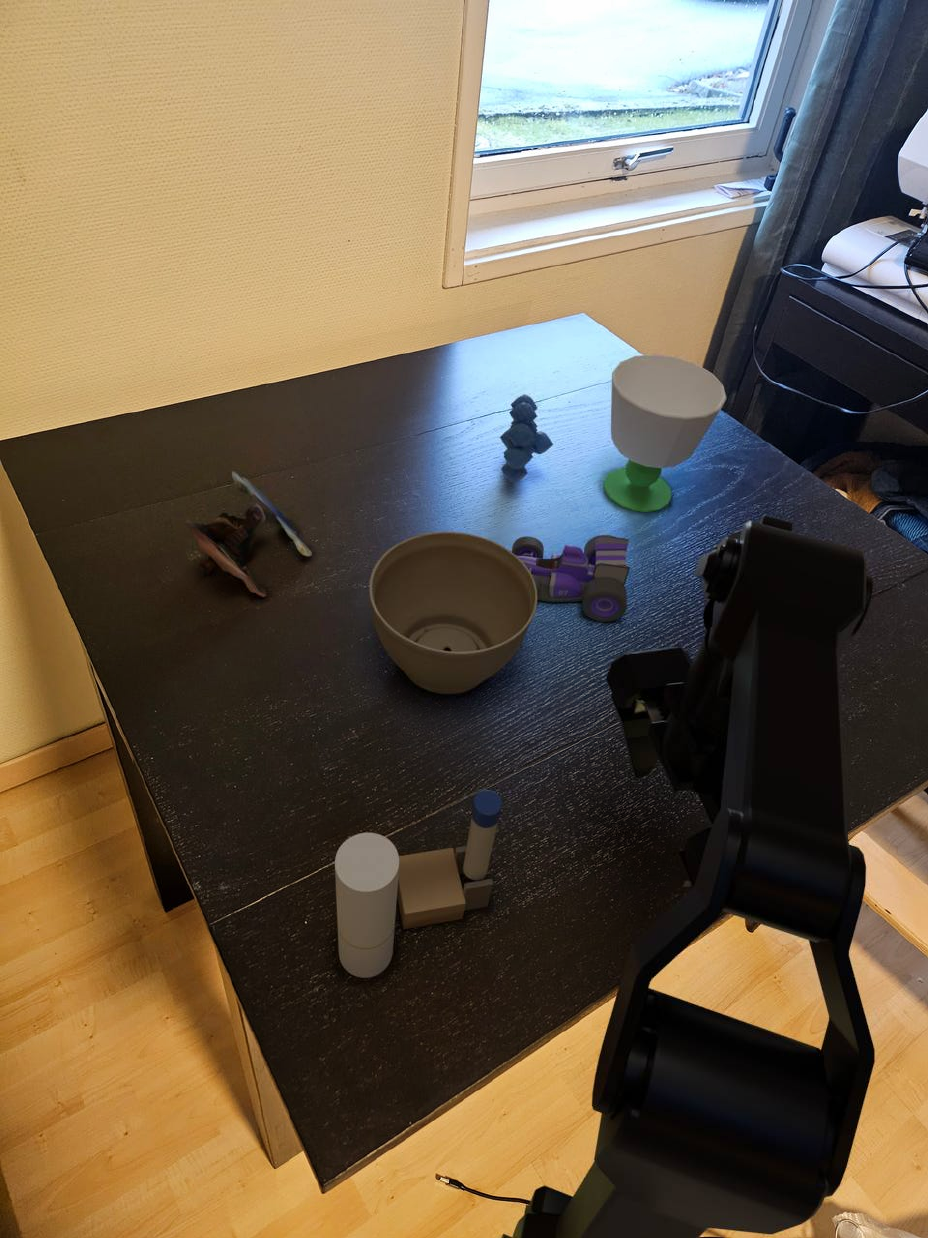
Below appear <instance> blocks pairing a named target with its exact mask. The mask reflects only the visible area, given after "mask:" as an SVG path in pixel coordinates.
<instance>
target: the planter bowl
mask: <svg viewBox="0 0 928 1238" xmlns="http://www.w3.org/2000/svg"><path fill="white" fill-rule="evenodd" d="M368 597H369V598H368V599H369V603H370V607H371V612H372V620H373V623H374V626H375V630H376V634H377V636H378V639H379V641H380V643H381V645H382V647H383V649H384V650H385V652H386V653H387V656H389V657H390V659H391V660H392V662H394V664H395V665H396V666H397V667H398V668H400V670H402V671H403V672H404V674H405V675H406V677H407V678H408V679H409V680H410V681H412V683H414V684H415V685H417V686H418V687H419V688H421V689H424V690H425V691H428V692H431V693H435V694H440V695H455V694H456V695H457V694H461V693H466V692H468V691H471V690H473V689H474V688H476V687H478V686H479V685H480V684H481V683H482V682H484V681H486V680H488V679H489V678H491V677H492V676H494V675H495V674H497V673H498V672H500V670H502V669H503V668H504V667H505V666H506V665H507V664H508V663H509V661H511V660H512V658H513V657H514V656H515V654H516V653H517V652H518V650H519V648H520V647H521V645H522V643H523V642H524V639H525V637H526V636H527V633H528V630H529V628H530V626H531V624H532V622H533V621H534V620H533V619H534V617H535V614H536V611H537V607H538V600H537V589H536V585H535V581H534V579H533V577H532V575H531V573H530V571H529V570H528V568H527V567H526V566H525V564H524V563H523V562H522V561H521V560H520V559H519V558H518V557H517V556H516V555H514V554H513V553H512V550H509V549H508V548H506V547H505V546H503V545H501V544H499V543H498V542H495V541H494V540H492V539H489V538H486V537H483V536H480V535H475V534H470V533H466V532H459V531H433V532H432V531H431V532H426V533H421V534H417V535H415V536H411V537H409V538H406V539H404V540H402V541H400V542H398V543H396V544H395V545H394V546H392V547H391V548H389V549H388V550H387V551H386V552H385V553H384V554H383V555H382V556H381V557H380V558H379V559H378V561H377V562H376V563H375V566H374V567H373V569H372V571H371V574H370V578H369V582H368ZM447 648H448V649H449V650H450V651H449V650H445V649H447Z"/></svg>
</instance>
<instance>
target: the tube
mask: <svg viewBox="0 0 928 1238" xmlns="http://www.w3.org/2000/svg"><path fill="white" fill-rule="evenodd" d="M399 856H400V855H399V852H398V850H397V847H396V846H395V845H394V843H393V842H392V841H391V840H390V839H389V838H387V837H386V836H384V835H381V834H379V833H375V832H360V833H357V834H355V835H352V836H350V837H349V838H347V839H346V840H345V841H343V843H342V844H341V845H340V846H339V848H338V850H337V852H336V855H335V859H334V874H335V899H336V918H337V919H336V920H337V943H338V957H339V958H338V959H339V961H340V963H341V965H342V967H343V968H344V970H345V971H346V972H347V973H349V974H350V975H352V976H354V977H357V978H361V979H365V978H366V979H368V978H374V977H376V976H378V975H380V974H381V973H383V972H384V971H385V970H386V969H387V968H388V967H389V965H390V963H391V961H392V958H393V955H394V954H393V953H394V941H395V928H396V927H395V926H396V912H397V901H398V898H397V886H398V873H399Z"/></svg>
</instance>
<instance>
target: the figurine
mask: <svg viewBox="0 0 928 1238" xmlns="http://www.w3.org/2000/svg"><path fill="white" fill-rule="evenodd" d="M231 476H232V479H233V482H234V485H235V486H236V487H237V489H238V490H239V491H240V492H241V493H244V494H247V495H248V496H249V498H250V499H252V500H254V496H255V497H257V498H258V499H259V500H260V502H261V503H263V504H264V505H265V506H266V507H267V508H268V509H269V510H270V511H271V512H272V513H273V514H274V515H275V517H276V519H277V521H279V522H278V523H280V525H281V527H282V529H284V532H285V533H286V534H287V536H288V537H289V538H290V539H291V540H293V543H294V544H295V547H296V549H297V550H298V552H299V553H300V554H301V555H303V556H305V557H311V556H312V555H313V553H312V551H311V549H310V548H309V547H308V546H307V544H306V543H305V542H304V540H302V539H301V537H300V536H299V535H298V531H297V529H296V528H295V527H294V526H293V525H292V523H291V522H290V521H289V520H288V518H286V517H285V516H284V515H283V513H282V512H281V511H280V510H279V509H278V508H277V507H276V506H275V505H274V504H273V502H272V501H270V499H269V498H268V497H267V495H265V494H264V492H263V491H262V490H260V489H258V488H256V486H255V485H253V484H252V483H251V482H250V481H249V480H248V479H247V478H246V477H241V476H240V475H239V474H238V473H237V472H236V471H231ZM265 521H266V515H265V514H264V510H263V508H261V506H260V505H259V504H258V503H257V502H253V503H252V504H251V505H250V506H249V508H248V509H247V510H246V511H245V518H241V517H236V516H234V515H229V514H228V513H227V512H221V513H220V515H218V517H217V518H216V519H213V520H211V521H210V522H208V523H206V524H204V523H197V522H195V521H191V520H189V519H186V520H185V521H184V522H185V523H184V524H185V525H186V527H187V529H188V530H189V532H190V534H191V535H192V536H193V537H194V538H195V540H196V542H197V543H198V548H200V549H201V550H202V551H203V552H204V553H206V554H207V555H208V559H206V560H205V561H202V562H200V563H199V564H198V567H199V568H200V571H201V572H205V573H206V574H210V573H211V572H212V570H213V568H214V567H215V565H216V564H217V565H218V566H219V568H221V569H222V571H223V572H227V573H230V574H231V576H233V577H235V578H238V579H241V580H242V581H243V582H244V584H245V586H246V587H247V589H248V590H249V591H250V593H253V594H255V593H256V595H258V596H260V597H263V598H265V597H266V596H267V591H266V590H265V588H263V587H262V586H259V585H258V583H257V582H256V580H255V578H254V577H253V576H252V575H251V573H250V571H249V569H248V567H247V566H246V559H247V557H248V556H249V554H251V552H252V550H251V549H252V548H253V544H254V541H255V539H256V535H257V533H256V531H257V527H261V526H262V524H263V523H264V522H265Z"/></svg>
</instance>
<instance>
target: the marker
mask: <svg viewBox="0 0 928 1238" xmlns="http://www.w3.org/2000/svg"><path fill="white" fill-rule="evenodd" d="M471 807H472V808H471V814H470V815H471V819H470V824H469V830H468V836H467V842H466V846H467V848H466V854H465V860H464V866H463V871H464V874H463V875H465V876H466V878H468V879H469V880H471V881H481V880H483V879H484V878H485V877H486V876H487V873H488V870H489V865H490V861H491V856H492V851H493V846H494V842H495V839H496V838H495V837H496V832H497V828H498V822H499V821H500V817H501V813H502V807H503V801H502V798H501V796H500V795H499V794H498V793H496V792H495V791H493V790H490V789H489V790H488V789H485V790H482V791H479V792H478V793H476V794H475V796H474V797H473V801H472V806H471Z"/></svg>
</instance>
